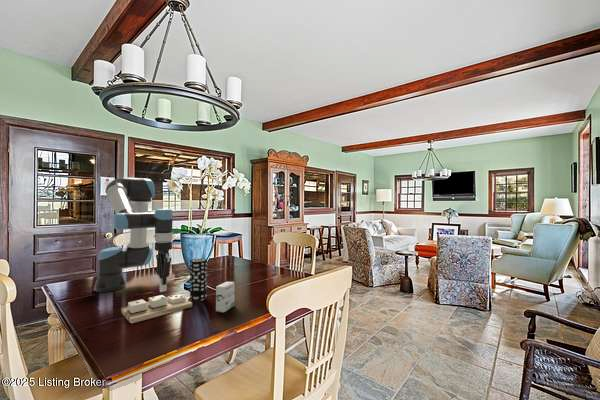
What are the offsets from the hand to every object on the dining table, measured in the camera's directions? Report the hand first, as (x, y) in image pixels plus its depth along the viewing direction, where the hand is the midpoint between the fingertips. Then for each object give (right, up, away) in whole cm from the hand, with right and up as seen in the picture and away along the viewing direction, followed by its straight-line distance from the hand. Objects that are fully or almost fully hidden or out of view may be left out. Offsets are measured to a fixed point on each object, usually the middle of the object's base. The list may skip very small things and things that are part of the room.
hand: (163, 290), depth 131 cm
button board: (-2, -8, -2) cm, 8 cm away
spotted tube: (+12, -9, +13) cm, 20 cm away
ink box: (+30, -9, 0) cm, 31 cm away
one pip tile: (-8, -6, -8) cm, 12 cm away
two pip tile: (-2, -6, -2) cm, 6 cm away
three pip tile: (+4, -7, +4) cm, 9 cm away
